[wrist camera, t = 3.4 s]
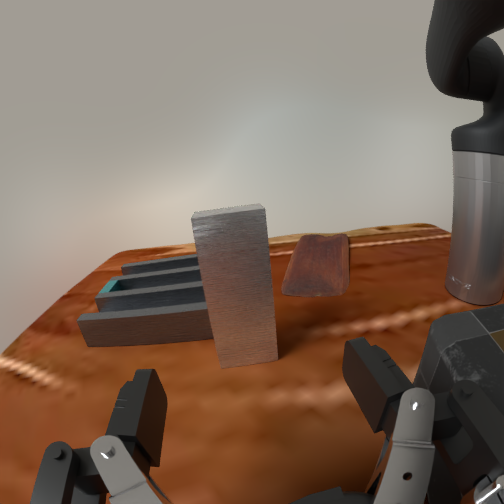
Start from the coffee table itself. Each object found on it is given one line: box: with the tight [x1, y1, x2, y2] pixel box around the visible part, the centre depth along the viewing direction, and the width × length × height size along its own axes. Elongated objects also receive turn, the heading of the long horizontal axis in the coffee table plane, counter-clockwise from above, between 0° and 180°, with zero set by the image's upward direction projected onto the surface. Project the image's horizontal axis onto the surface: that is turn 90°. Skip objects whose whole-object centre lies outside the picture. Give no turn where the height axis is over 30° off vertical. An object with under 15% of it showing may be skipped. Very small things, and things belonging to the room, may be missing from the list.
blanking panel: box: [191, 204, 278, 368], centre depth 21 cm, size 5×2×13 cm, turn 97°
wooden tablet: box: [282, 234, 349, 297], centre depth 44 cm, size 27×10×2 cm, turn 162°
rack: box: [77, 254, 214, 347], centre depth 34 cm, size 16×18×4 cm
